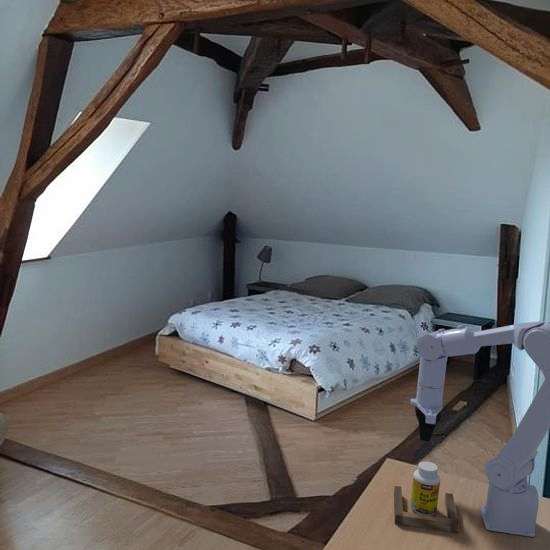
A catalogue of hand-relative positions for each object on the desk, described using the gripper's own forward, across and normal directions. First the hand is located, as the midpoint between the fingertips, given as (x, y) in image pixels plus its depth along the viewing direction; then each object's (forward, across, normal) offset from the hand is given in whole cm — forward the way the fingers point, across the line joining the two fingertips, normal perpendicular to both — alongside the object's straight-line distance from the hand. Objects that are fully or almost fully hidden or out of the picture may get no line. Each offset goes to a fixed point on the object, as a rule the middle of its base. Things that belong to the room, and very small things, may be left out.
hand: (424, 439), depth 132 cm
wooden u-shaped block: (+10, +12, 0) cm, 16 cm away
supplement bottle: (+11, +12, 0) cm, 16 cm away
